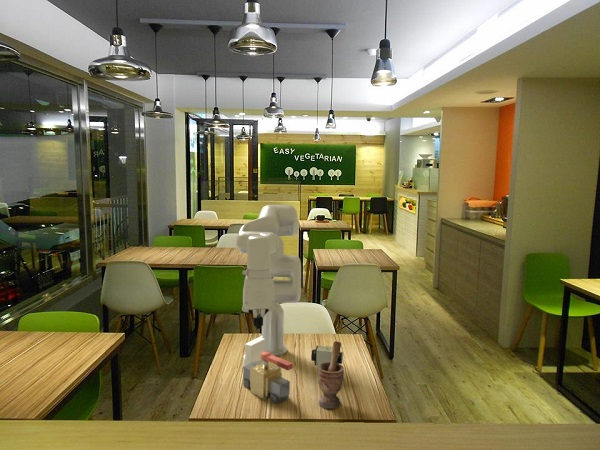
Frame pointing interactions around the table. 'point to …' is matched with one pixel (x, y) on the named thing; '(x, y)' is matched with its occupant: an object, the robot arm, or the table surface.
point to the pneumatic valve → (324, 355)
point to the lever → (276, 360)
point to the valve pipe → (266, 381)
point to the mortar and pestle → (331, 379)
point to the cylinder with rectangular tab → (253, 352)
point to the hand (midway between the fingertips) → (258, 327)
